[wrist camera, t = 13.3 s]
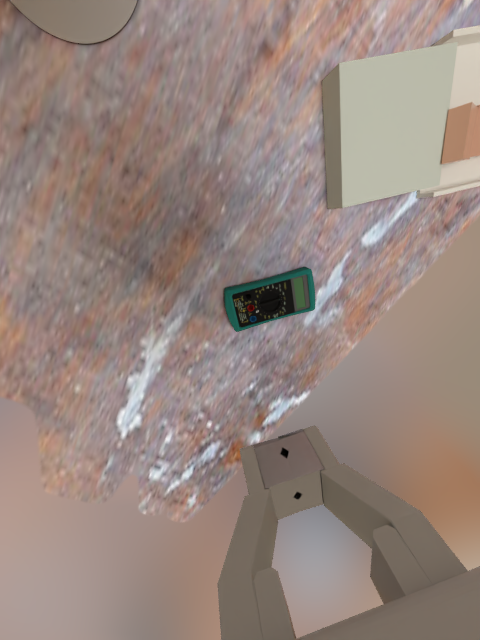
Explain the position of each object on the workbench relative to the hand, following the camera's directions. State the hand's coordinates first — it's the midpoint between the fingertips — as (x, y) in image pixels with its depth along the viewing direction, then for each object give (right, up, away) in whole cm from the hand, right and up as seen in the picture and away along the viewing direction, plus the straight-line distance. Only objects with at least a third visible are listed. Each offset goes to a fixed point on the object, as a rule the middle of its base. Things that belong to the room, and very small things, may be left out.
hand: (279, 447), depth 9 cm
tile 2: (+28, +30, +24) cm, 48 cm away
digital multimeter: (+3, +9, +32) cm, 33 cm away
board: (+18, +30, +25) cm, 43 cm away
